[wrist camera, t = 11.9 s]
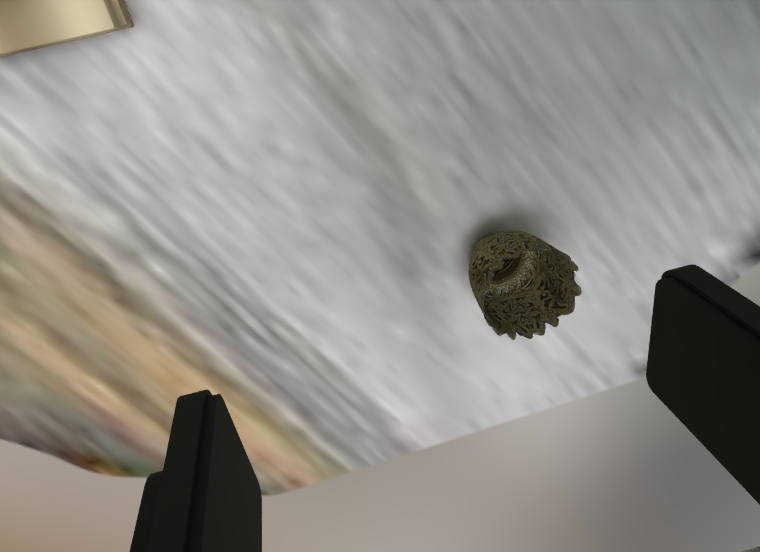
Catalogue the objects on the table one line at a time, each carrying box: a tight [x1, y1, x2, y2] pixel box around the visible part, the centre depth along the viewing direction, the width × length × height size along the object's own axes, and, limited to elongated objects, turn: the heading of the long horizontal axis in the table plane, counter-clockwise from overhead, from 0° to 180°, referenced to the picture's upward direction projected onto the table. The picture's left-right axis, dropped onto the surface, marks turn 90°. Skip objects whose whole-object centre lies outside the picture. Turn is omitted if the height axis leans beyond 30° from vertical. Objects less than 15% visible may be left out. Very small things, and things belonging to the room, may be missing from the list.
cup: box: [469, 231, 581, 340], centre depth 42 cm, size 8×7×8 cm
